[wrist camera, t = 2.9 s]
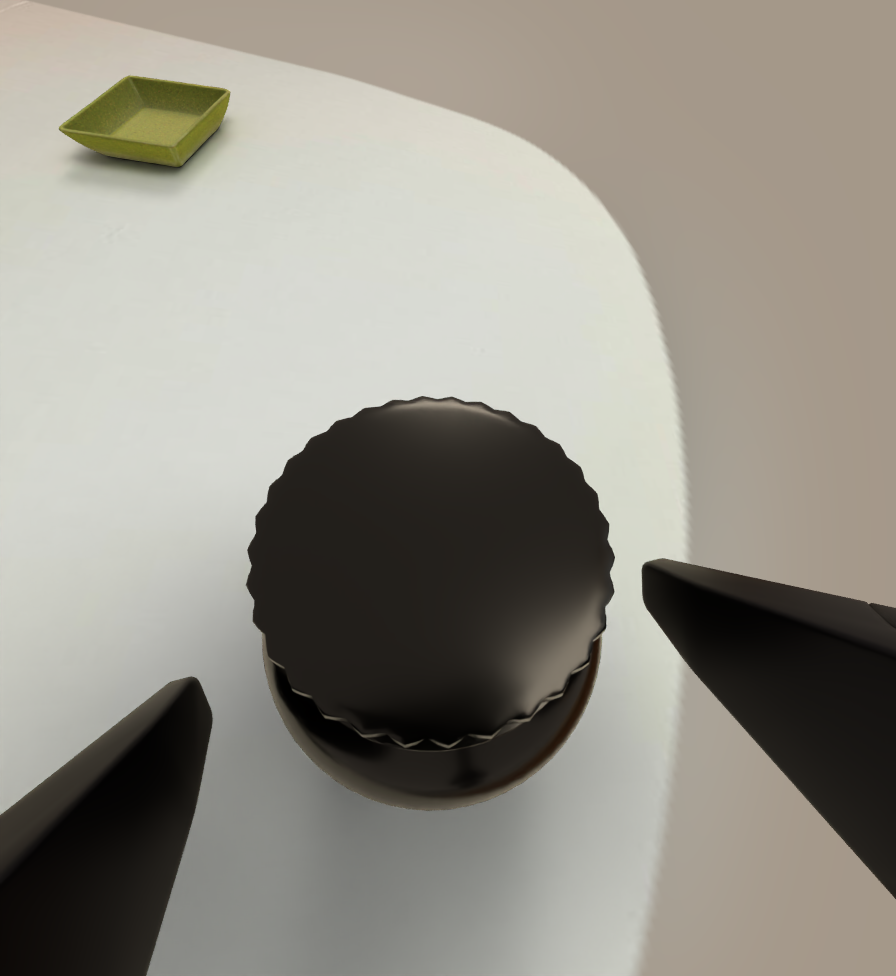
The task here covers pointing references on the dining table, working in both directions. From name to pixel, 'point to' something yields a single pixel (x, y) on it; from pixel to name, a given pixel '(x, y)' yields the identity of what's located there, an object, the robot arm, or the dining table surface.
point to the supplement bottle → (431, 600)
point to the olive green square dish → (149, 120)
